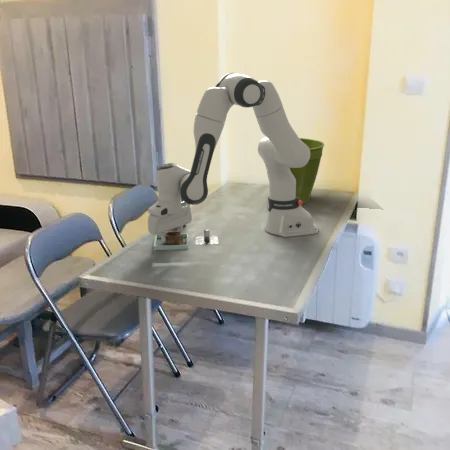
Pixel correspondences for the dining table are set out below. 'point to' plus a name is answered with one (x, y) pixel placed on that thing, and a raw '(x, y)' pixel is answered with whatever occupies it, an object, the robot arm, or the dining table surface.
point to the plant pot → (308, 170)
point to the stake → (206, 238)
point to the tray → (167, 247)
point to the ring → (173, 237)
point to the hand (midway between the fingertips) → (171, 239)
